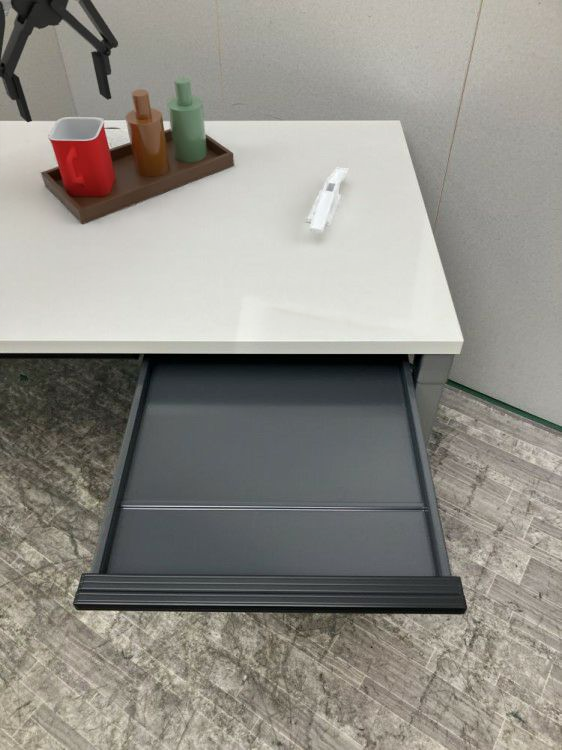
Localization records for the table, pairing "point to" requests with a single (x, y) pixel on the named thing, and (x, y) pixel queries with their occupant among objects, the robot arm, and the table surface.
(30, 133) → the table surface
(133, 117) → the amber bottle
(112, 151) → the tray
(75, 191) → the mug
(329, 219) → the white long narrow piece
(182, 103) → the sage bottle
